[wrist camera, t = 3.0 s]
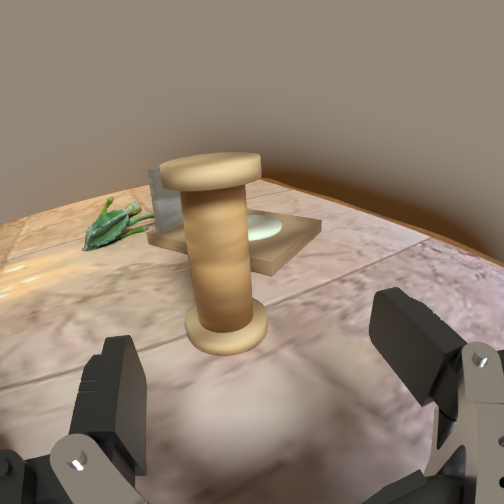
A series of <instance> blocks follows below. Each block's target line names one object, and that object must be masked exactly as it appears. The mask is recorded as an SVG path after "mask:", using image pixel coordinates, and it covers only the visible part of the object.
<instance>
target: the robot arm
mask: <svg viewBox="0 0 504 504" xmlns="http://www.w3.org/2000/svg"><path fill="white" fill-rule="evenodd" d="M369 336H370V339H371V342H372V344H373V345H374V346H375V347H376V349H377V350H378V351H379V353H380V354H381V355H382V356H383V358H384V359H385V360H386V361H387V363H388V364H389V365H390V366H391V368H392V369H393V370H394V371H395V373H396V374H397V375H398V377H399V378H400V379H401V380H402V382H403V383H404V384H405V386H406V387H407V388H408V389H409V391H410V392H411V393H412V395H413V396H414V397H415V399H416V400H417V401H418V403H419V404H420V405H421V406H422V407H423V406H425V405H427V404H429V403H431V402H433V401H434V402H435V403H436V404H437V405H436V407H435V410H434V421H433V435H432V446H431V455H430V459H429V462H428V464H427V466H426V469H425V471H424V474H422V472H421V470H420V469H419V470H417V471H416V472H414V473H412V474H410V475H408V476H406V477H404V478H402V479H400V480H398V481H396V482H394V483H392V484H389V485H387V486H385V487H384V488H382V489H381V490H380V491H378V492H377V493H376V494H374V495H373V496H372V497H370V498H369V499H368V500H366V501H365V502H363V503H362V504H504V350H500V351H496V350H495V349H494V348H492V347H491V346H489V345H488V344H485V343H482V342H471V343H467V342H466V341H465V340H464V339H462V338H461V337H460V336H459V335H458V334H457V333H456V332H455V331H454V330H453V329H452V328H451V327H449V326H448V325H447V324H446V323H445V322H444V321H443V320H440V318H439V317H438V316H437V315H436V314H435V313H434V314H433V311H432V310H430V309H429V308H428V307H427V306H426V305H425V304H424V303H422V302H419V301H417V300H415V299H413V298H411V297H409V296H408V295H407V294H405V293H404V292H403V291H402V290H401V289H400V288H398V287H393V288H389V289H385V290H381V291H378V292H376V294H375V296H374V300H373V307H372V313H371V319H370V324H369ZM78 391H79V393H78V394H77V398H76V402H75V407H74V411H73V416H72V420H71V425H70V430H69V434H68V435H67V436H65V437H63V438H61V439H60V440H59V441H58V442H57V443H56V444H55V445H54V446H53V448H52V450H51V453H50V454H49V455H45V456H41V457H37V458H32V459H28V460H23V459H22V458H21V457H20V456H19V455H18V454H17V453H16V452H14V451H12V450H1V451H0V504H149V503H148V502H147V501H146V500H145V499H144V498H143V497H142V496H141V495H140V493H139V492H138V491H137V490H136V489H135V476H147V474H146V400H147V384H146V377H145V373H144V370H143V367H142V365H141V362H140V360H139V357H138V354H137V351H136V349H135V346H134V343H133V340H132V338H131V336H130V335H124V336H115V337H107V338H106V339H105V342H104V346H103V350H102V354H100V355H93V356H92V357H91V359H90V360H89V361H88V363H87V364H86V365H85V367H84V370H83V374H82V377H81V382H80V385H79V389H78Z"/></svg>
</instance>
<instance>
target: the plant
mask: <svg viewBox="0 0 504 504" xmlns="http://www.w3.org/2000/svg"><path fill="white" fill-rule="evenodd" d="M112 202H113V197H109V199H107V202H106V205H105V207H104V208H103V209H102V211H101V213H100V215H99V217H98V219H96V222H94V223H93V224H92V225H91V226H89V227H88V229H87V231H86V236H85V246H84V248H83V249H82V250H83V251H91V250H95V249H98V248H99V247H101V246H103V245H105V244H108V243H110V242H113V241H115V240H117V239H121V238H123V237H125V236H128V235H130V234H133V233H140V232H144V231H146V230H148V229H149V228H147V227H140V228H137V229H134V230H131V231H128V232H126V233H123V231H124V229H125V228H127V227H129V226H132V225H134V224H135V223H137V222H139V221H142V220H145V219H148V218H155V217H154V213H148V214H143V215H140V216H138V217H136V218H133V219H130V220H129V216H128V215H130V216H132V215H135V214H137V213H139V212H140V210H141V206H140V205H139V204H137V203H136V202H132V203H130V204H129V205H128V206H127V207H126V208H125V210H123V209H118V210H116V209H114V210H113V211H110V212H107V210H106V209H107V208H108V207H109V205H110V204H111V203H112Z"/></svg>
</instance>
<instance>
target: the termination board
mask: <svg viewBox="0 0 504 504" xmlns="http://www.w3.org/2000/svg"><path fill="white" fill-rule="evenodd" d="M148 175H149V183H150V190H151V197H152V204H153V211H154V217H155V223H156V229H154V230H152V231H150V232H148V233H147V237H148V243H149V244H151V245H155V246H159V247H162V248H166V249H170V250H173V251H177V252H181V253H185V254H188V251H187V244H186V237H185V230H184V223H183V216H182V208H181V200H180V192H179V191H173V190H168V189H165V188H163V187H162V182H161V174H160V166H159V167H155V168H152V169H148ZM321 222H322V220H318V219H311V218H305V217H299V216H292V215H285V214H279V213H272V212H265V211H258V210H250V209H247V223H248V239H249V255H250V271H254V272H258V273H262V274H266V275H269V276H272V275H274V274H275V273H276V272H277V271H278V270H279V269H280V268H281V267H282V266H284V265H285V264H286V263H287V262H288V261H289V260H290V259H291V258H292V257H294V256H295V255H296V254H297V253H298V252H299V251H300V250H301V249H302V248H303V247H305V246H306V245H307V244H308V243H309V242H310V241H311V240H312V239H313V238H314V237H315V236H317V235H318V234H319V233H320V232H321Z"/></svg>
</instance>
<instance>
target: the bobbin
mask: <svg viewBox="0 0 504 504" xmlns="http://www.w3.org/2000/svg"><path fill="white" fill-rule="evenodd" d="M160 174H161V182H162V187H163V188H165V189H168V190H173V191H179V192H180V200H181V208H182V216H183V223H184V230H185V237H186V244H187V251H188V258H189V264H190V271H191V277H192V283H193V289H194V295H195V301H196V304H195V305H194V306H193V307H192V308H191V309H190V310H189V312H188V313H187V315H186V321H185V322H186V327H187V332H188V336H189V339H190V341H191V343H192V344H193V345H194V346H195V347H196V348H197V349H199V350H201V351H203V352H205V353H208V354H212V355H219V356H229V355H236V354H240V353H243V352H246V351H248V350H251V349H252V348H254V347H256V346H257V345H258V344H259V343H261V342H262V340H263V339H264V338H265V336H266V334H267V329H268V325H267V311H266V309H265V307H264V306H263V304H262V303H260V302H259V301H258V300H256V299H254V298H252V286H251V271H250V255H249V239H248V223H247V207H246V191H245V184H248V183H251V182H254V181H256V180H258V179H260V178H261V157H260V155H259V154H255V153H246V152H225V153H210V154H201V155H195V156H188V157H183V158H178V159H174V160H170V161H167V162H165V163H163V164H161V165H160Z"/></svg>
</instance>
